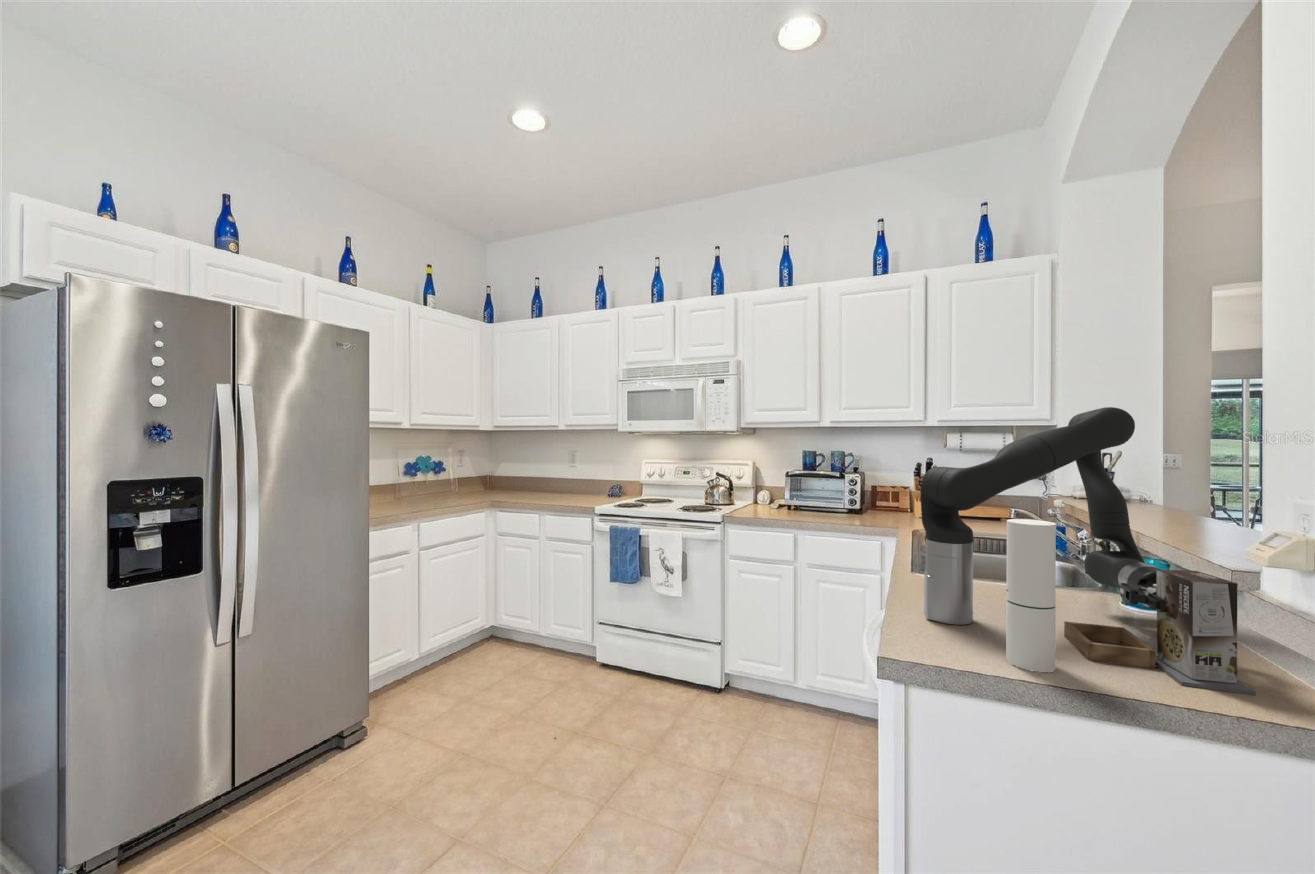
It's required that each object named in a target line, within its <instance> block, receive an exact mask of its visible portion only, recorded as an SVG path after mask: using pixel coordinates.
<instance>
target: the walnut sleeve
mask: <svg viewBox="0 0 1315 874" xmlns="http://www.w3.org/2000/svg"><path fill="white" fill-rule="evenodd" d="M1063 624H1064V625H1063V626H1064V629H1063V631H1064V633H1063V635H1064V637H1065V639H1066V640H1067V641H1069V642H1070V643H1071V645H1073V647H1074V648H1075V649H1076V650H1077V651H1079V653H1080V654H1081V655H1083V657H1085V659H1086V660H1087V661H1093V662H1101V663H1108V664H1109V663H1110V664H1116V665H1117V664H1118V665H1125V666H1132V667H1134V666H1135V667H1141V668H1142V667H1143V668H1150V669H1156V665H1155V658H1156V655H1157V653H1156V652H1157V651H1156V650H1155V649H1153V648H1152V647H1150V646H1149V645H1148V644H1147V643H1145V642H1144V641H1142V640H1141V639H1140V638H1139V637H1137V636H1136V635H1134V634H1133V633H1132V632H1130V631H1129V630H1128V629H1126V628H1125V627H1124V626H1123V627H1122V626H1112V625H1104V624H1093V623H1083V622H1076V621H1075V622H1073V621H1066V620H1065V621H1064V623H1063ZM1101 642H1102V643H1101ZM1109 643H1110V644H1109ZM1111 643H1112V644H1111ZM1117 644H1118V645H1117ZM1119 644H1120V645H1119Z"/></svg>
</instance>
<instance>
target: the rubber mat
mask: <svg viewBox="0 0 1315 874" xmlns="http://www.w3.org/2000/svg"><path fill="white" fill-rule="evenodd" d="M1155 667H1157V668H1159V669H1160V670H1161V671H1163V673H1165V674H1166V675H1167V676H1169V677H1170V678H1172V679H1173V680H1174V681H1175V682H1176V683H1178V684H1179V685H1180V686H1182V687H1183V686H1184V687H1190V688H1191V687H1192V688H1198V689H1205V688H1207V689H1208V690H1213V689H1214V691H1222V692H1229V693H1230V692H1231V693H1237V694H1244V693H1246V695H1252V694H1253V695H1252V696H1255V695H1256V690H1254V688H1253V689H1252V688H1251V687H1250V686H1248V685H1246V684H1245V683H1243V682H1242V681H1240V680H1239V679H1237V683H1225V682H1215V681H1204V680H1194V679H1192V678H1190V677H1188V676H1186V675H1184V674H1183V673H1181V672H1179V671H1177V670H1176V669H1174V668H1172V667H1171V666H1169V665H1167V664H1165V663H1163V662H1162V661H1160V660H1158V659H1157V654H1156V658H1155ZM1207 689H1206V690H1207Z"/></svg>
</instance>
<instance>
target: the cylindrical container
mask: <svg viewBox="0 0 1315 874" xmlns="http://www.w3.org/2000/svg"><path fill="white" fill-rule="evenodd" d="M1056 535H1057V524H1056V523H1055V522H1051V521H1046V520H1037V519H1029V518H1014V519H1013V518H1009V519H1006V591H1005V595H1006V596H1005V597H1006V600H1005V601H1006V604H1005V605H1006V611H1005V613H1006V614H1005V615H1006V621H1005V622H1006V623H1005V624H1006V625H1005V629H1006V631H1005V635H1006V636H1005V639H1006V641H1005V643H1006V644H1005V646H1006V647H1005V654H1006V655H1005V661H1006V660H1007V661H1008V662H1009V663H1010V665H1011V666H1013V665H1015V666H1017V667H1016V668H1018V667H1020V668H1023V669H1022V670H1024V669H1025V671H1028V670H1033V671H1039V672H1038V673H1041V672H1048V673H1052V672H1051V671H1053V672H1055V671H1056V578H1057V577H1056V572H1057V571H1056V564H1057V563H1056V561H1057V560H1056V558H1057V557H1056V555H1057V554H1056V552H1057V551H1056V549H1057V548H1056V547H1057V546H1056V545H1057V541H1056V539H1057V536H1056ZM1007 661H1006V662H1007ZM1008 662H1007V663H1008ZM1009 663H1008V664H1009ZM1015 666H1014V667H1015ZM1020 668H1019V669H1020ZM1033 671H1032V672H1033Z"/></svg>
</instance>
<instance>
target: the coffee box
mask: <svg viewBox="0 0 1315 874" xmlns="http://www.w3.org/2000/svg"><path fill="white" fill-rule="evenodd" d="M1156 571H1157V596H1159V597H1161V598H1163V599H1164V600H1165V601H1166V612H1159V611H1157V610H1156V642H1157V643H1156V644H1157V645H1156V647H1157V648H1156V649H1157V651H1156V652H1157V653H1156V655H1157V659H1158V660H1160V661H1162V662H1163V663H1165V664H1167V665H1169V666H1171V667H1172V668H1174V669H1176V670H1177V671H1179V672H1181V673H1183V674H1184V675H1186V676H1188V677H1190V678H1192V679H1194V680H1204V681H1215V682H1225V683H1237V680H1238V587H1239V586H1238V585H1239V584H1238V582H1234V581H1232V580H1231V581H1230V580H1228V579H1224V578H1221V577H1218V576H1215V575H1212V574H1208V573H1204V572H1202V571H1199V570H1185V569H1183V570H1182V569H1169V570H1168V569H1162V570H1156Z"/></svg>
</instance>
